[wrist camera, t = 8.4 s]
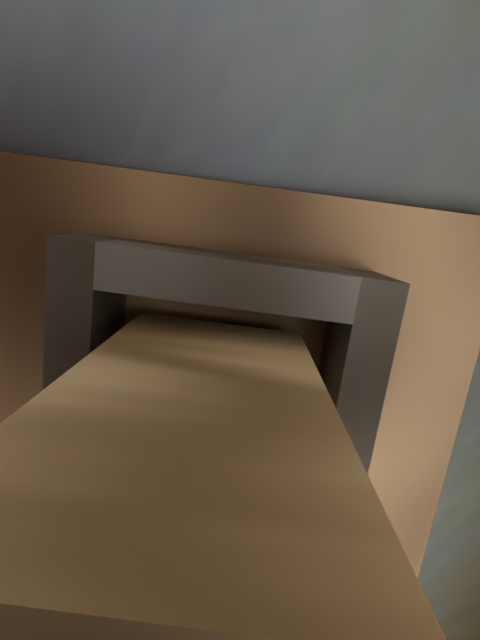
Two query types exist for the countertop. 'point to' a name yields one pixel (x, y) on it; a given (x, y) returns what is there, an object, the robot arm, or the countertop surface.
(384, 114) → the countertop surface
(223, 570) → the keyed block
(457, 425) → the holder
